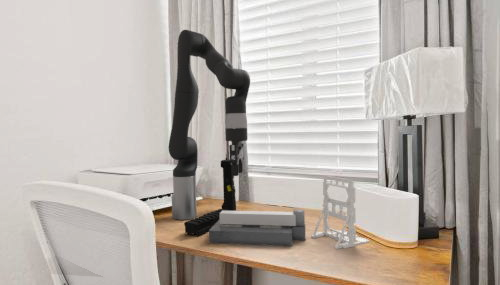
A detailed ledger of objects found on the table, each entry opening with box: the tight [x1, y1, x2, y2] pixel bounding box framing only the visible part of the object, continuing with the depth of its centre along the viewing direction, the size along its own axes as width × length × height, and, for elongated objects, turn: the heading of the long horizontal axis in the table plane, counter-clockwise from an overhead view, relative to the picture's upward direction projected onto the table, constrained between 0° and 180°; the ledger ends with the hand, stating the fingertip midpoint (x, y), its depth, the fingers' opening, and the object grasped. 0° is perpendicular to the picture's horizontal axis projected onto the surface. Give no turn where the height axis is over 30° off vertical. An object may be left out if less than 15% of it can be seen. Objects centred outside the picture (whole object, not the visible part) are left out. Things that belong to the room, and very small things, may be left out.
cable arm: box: [220, 209, 306, 226], centre depth 110 cm, size 28×4×4 cm, turn 81°
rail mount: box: [183, 208, 229, 238], centre depth 121 cm, size 21×6×5 cm, turn 151°
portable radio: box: [220, 153, 237, 211], centre depth 145 cm, size 8×6×25 cm
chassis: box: [208, 219, 306, 247], centre depth 110 cm, size 30×16×4 cm, turn 81°
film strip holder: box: [310, 174, 370, 250], centre depth 106 cm, size 14×14×20 cm
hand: (237, 174), depth 114 cm, fingers open, 8 cm apart
